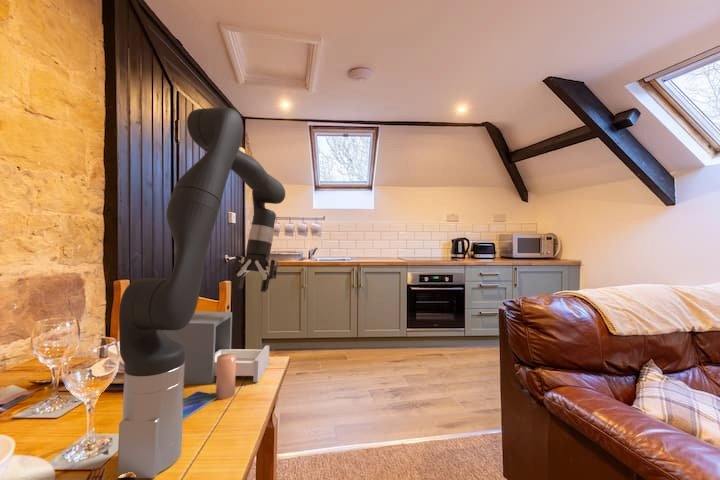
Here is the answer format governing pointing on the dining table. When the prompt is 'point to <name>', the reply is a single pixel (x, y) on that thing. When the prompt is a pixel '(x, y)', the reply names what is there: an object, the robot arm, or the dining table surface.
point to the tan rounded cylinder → (225, 376)
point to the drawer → (247, 361)
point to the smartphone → (196, 402)
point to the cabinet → (203, 344)
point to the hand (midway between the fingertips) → (251, 290)
